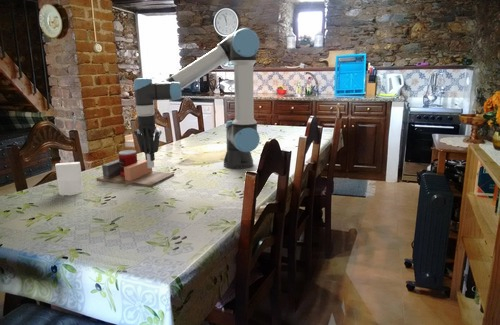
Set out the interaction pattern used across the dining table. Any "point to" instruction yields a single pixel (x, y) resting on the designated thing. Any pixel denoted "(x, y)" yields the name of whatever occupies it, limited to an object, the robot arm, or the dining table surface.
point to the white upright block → (69, 178)
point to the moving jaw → (136, 170)
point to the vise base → (113, 175)
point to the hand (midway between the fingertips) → (151, 167)
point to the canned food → (127, 159)
